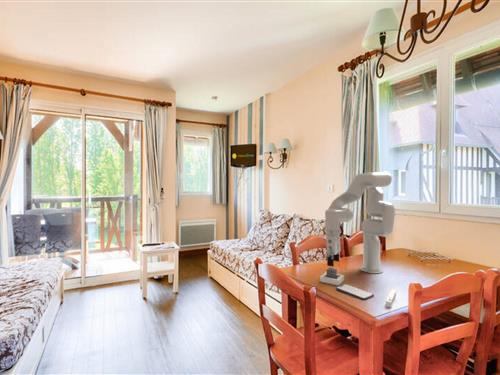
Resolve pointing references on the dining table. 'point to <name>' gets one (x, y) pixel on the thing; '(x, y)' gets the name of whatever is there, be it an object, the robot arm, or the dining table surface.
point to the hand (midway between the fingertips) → (333, 263)
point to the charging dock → (391, 298)
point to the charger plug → (332, 273)
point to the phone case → (354, 292)
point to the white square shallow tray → (332, 281)
